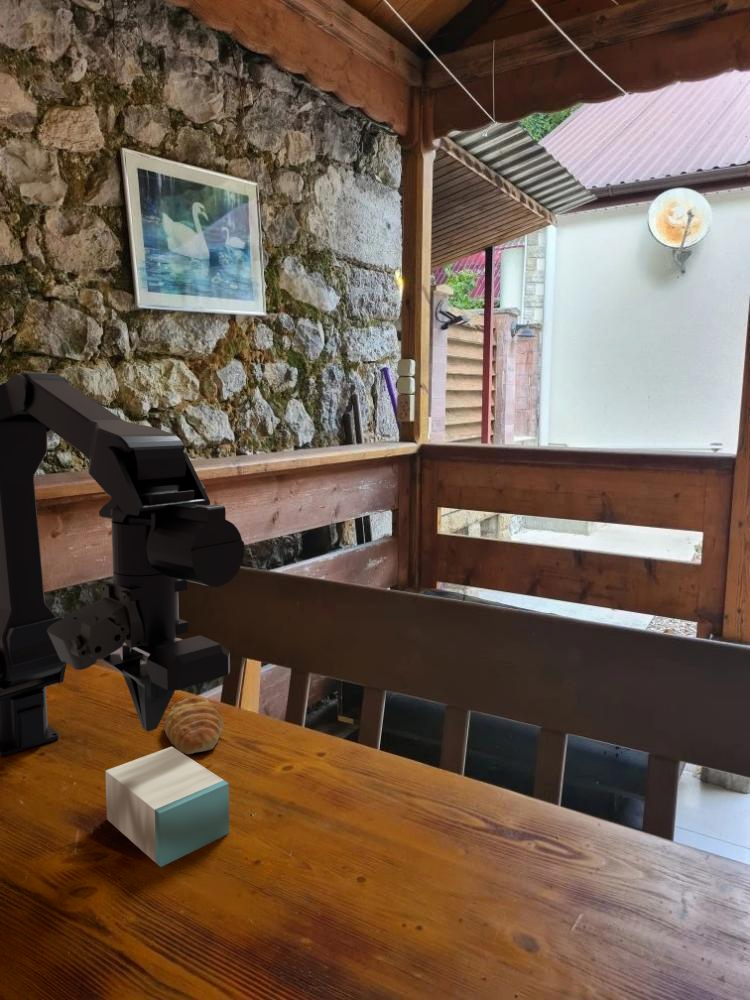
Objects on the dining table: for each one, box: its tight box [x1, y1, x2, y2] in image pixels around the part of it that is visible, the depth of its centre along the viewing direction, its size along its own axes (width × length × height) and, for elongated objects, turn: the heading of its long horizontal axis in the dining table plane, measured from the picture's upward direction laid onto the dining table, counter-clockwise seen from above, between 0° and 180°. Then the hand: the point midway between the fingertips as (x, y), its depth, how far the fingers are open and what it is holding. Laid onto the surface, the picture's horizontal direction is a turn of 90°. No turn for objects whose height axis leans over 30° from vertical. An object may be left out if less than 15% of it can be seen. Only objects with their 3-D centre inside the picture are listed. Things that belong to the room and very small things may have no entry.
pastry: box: [163, 696, 224, 755], centre depth 85 cm, size 9×7×4 cm
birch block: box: [105, 746, 230, 868], centre depth 67 cm, size 5×7×10 cm
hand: (150, 729), depth 68 cm, fingers closed
